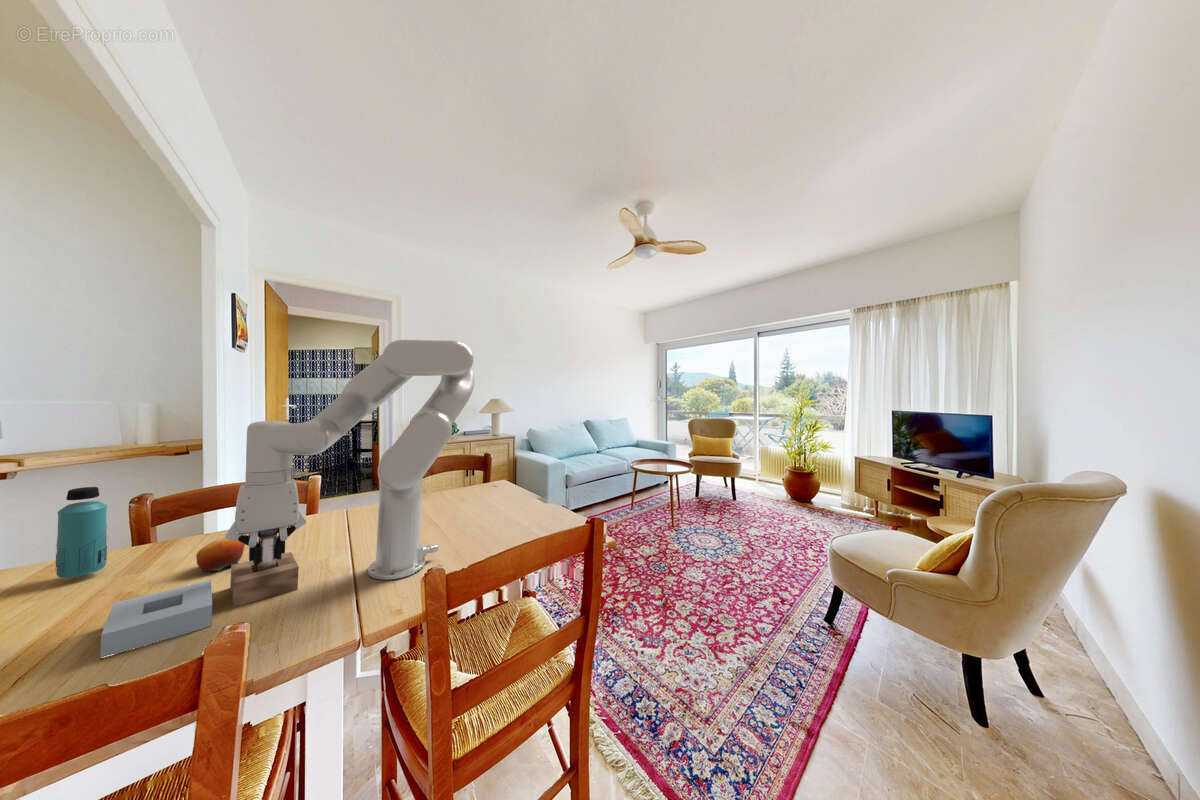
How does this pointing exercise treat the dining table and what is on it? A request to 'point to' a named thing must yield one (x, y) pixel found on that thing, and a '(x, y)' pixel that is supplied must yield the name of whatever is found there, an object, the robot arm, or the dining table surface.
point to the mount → (263, 580)
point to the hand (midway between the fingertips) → (267, 559)
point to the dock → (157, 617)
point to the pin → (267, 548)
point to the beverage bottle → (81, 535)
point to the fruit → (219, 554)
